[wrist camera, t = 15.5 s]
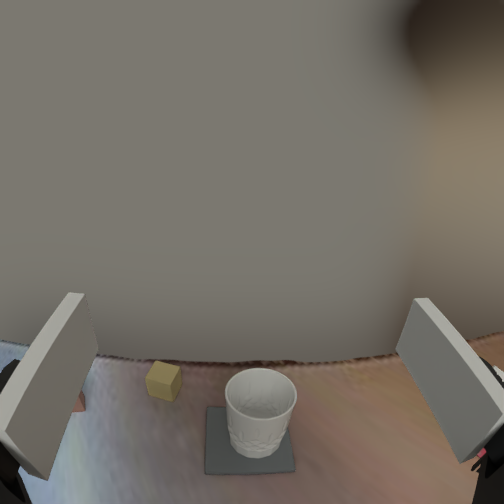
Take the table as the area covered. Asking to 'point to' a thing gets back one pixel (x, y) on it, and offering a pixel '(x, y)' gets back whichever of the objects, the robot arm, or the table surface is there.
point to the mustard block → (164, 381)
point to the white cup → (258, 410)
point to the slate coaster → (232, 463)
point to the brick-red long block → (79, 403)
